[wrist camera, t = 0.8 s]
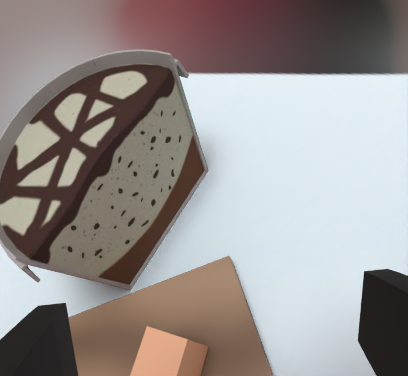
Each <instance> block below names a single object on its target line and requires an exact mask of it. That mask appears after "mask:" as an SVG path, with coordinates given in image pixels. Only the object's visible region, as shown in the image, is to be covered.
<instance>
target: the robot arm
mask: <svg viewBox="0 0 408 376" xmlns="http://www.w3.org/2000/svg"><path fill="white" fill-rule="evenodd" d="M358 342H359V344H360V346H361V348H362V350H363V351H364V353H365V355H366V357H367V359H368V361H369V363H370V365H371V366H372V368H373V370H374V372H375V374H376V375H377V376H408V276H407V275H404V274H401V273H398V272H396V271H392V270H389V269H383V270H373V271H364V279H363V290H362V301H361V312H360V323H359V334H358ZM0 376H78V371H77V365H76V359H75V353H74V348H73V342H72V336H71V330H70V325H69V319H68V313H67V307H66V303H61V304H51V305H42V306H38V307H36V308H35V309H34V310H33V311H31V312H30V313H29V314H28V315H27V316H26V317H25V318H24V319H22V320H21V321H20V322H19V323H18V324H17V325H16V326H15V327H14V328H13V329H12V330H10V331H9V332H8V333H7V334H6V335H5V336H4V337H3V338H2V339H1V340H0Z"/></svg>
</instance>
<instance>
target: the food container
mask: <svg viewBox="0 0 408 376" xmlns="http://www.w3.org/2000/svg"><path fill="white" fill-rule="evenodd" d="M179 76H182V77H186V78H188V76H189V75H188V73H187V72H186V70H185V69H184V68H183V66H182V65H181V64H180V62H179V61H178V60H177V59H173V57H172V55H171V54H169V53H165V52H160V51H154V50H142V49H139V50H124V51H118V52H112V53H108V54H104V55H101V56H97V57H94V58H91V59H89V60H87V61H84V62H82V63H79V64H77V65H75V66H73V67H71V68H69V69H68V70H66V71H64V72H62V73H60V74H59V75H58V76H56V77H55V78H53V79H52V80H50V81H49V82H47V83H46V84H45V85H44V86H42V87H41V88H40V89H39V90H38V91H37V92H35V94H33V95H32V96H31V97H30V98H29V99H28V100H27V101H26V102H25V103H24V105H23V106H22V107H21V108H20V109H19V110H18V111H17V113H16V114H15V115H14V117H13V118H12V119H11V121H10V122H9V124H8V125H7V127H6V128H5V130H4V132H3V133H2V135H1V137H0V244H1V246H2V247H3V249H4V250H5V252H6V253H7V255H8V256H9V258H10V259H11V260H12V261H13V262H14V263H15V264H17V265H18V266H19V267H20V268H21V269H22V270H23V271H24V272H25V273H27V274H28V275H29V276H30V277H32V278H33V279H34V280H35V281H37V282H39V281H40V279H39V278H38V277H37V276H36V275H35V274H34V273H33V272H32V271H31V270H30V269H29V268H28V265H31V266H35V267H39V268H43V269H47V270H51V271H55V272H59V273H64V274H68V275H72V276H76V277H80V278H84V279H88V280H92V281H96V282H100V283H105V284H109V285H113V286H117V287H121V288H125V289H129V290H131V289H132V287H133V286H134V284H135V282H136V281H137V279H138V278H139V276H140V275H141V273H142V272H143V270H144V269H145V267H146V266H147V264H148V263H149V261H150V259H151V258H152V256H153V255H154V253H155V252H156V250H157V249H158V247H159V246H160V244H161V243H162V241H163V239H164V238H165V236H166V235H167V233H168V232H169V230H170V229H171V227H172V226H173V224H174V223H175V221H176V220H177V218H178V216H179V215H180V213H181V212H182V210H183V209H184V207H185V206H186V204H187V203H188V201H189V200H190V198H191V196H192V195H193V193H194V192H195V190H196V189H197V187H198V186H199V184H200V183H201V181H202V180H203V178H204V177H205V175H206V173H207V172H208V168H207V165H206V162H205V158H204V155H203V152H202V149H201V145H200V142H199V139H198V136H197V132H196V129H195V126H194V123H193V119H192V116H191V113H190V110H189V106H188V103H187V100H186V97H185V93H184V90H183V87H182V84H181V80H180V77H179Z"/></svg>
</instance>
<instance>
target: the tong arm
mask: <svg viewBox="0 0 408 376" xmlns="http://www.w3.org/2000/svg"><path fill="white" fill-rule="evenodd" d="M208 347H209V346H206V345H203V344H200V343H197V342H194V341H191V340H188V339H185V338H182V337H179V336H176V335H173V334H170V333H167V332H164V331H161V330H157V329H154V328H151V327H148V326H147V327H146V330H145V333H144V336H143V339H142V342H141V345H140V348H139V351H138V354H137V357H136V360H135V363H134V366H133V369H132V371H131V374H130V376H200V375H201V372H202V368H203V365H204V361H205V357H206V354H207V350H208Z"/></svg>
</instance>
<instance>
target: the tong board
mask: <svg viewBox="0 0 408 376" xmlns="http://www.w3.org/2000/svg"><path fill="white" fill-rule="evenodd" d="M68 319H69V325H70V330H71V336H72V342H73V348H74V353H75V359H76V365H77V371H78V376H130V374H131V371H132V369H133V366H134V363H135V360H136V357H137V354H138V351H139V348H140V345H141V342H142V339H143V336H144V333H145V330H146V327H147V326H148V327H151V328H154V329H157V330H161V331H164V332H167V333H170V334H173V335H176V336H179V337H182V338H185V339H188V340H191V341H194V342H197V343H200V344H203V345H206V346H209V347H208V350H207V354H206V357H205V361H204V365H203V368H202V372H201V375H200V376H273V373H272V370H271V367H270V364H269V362H268V359H267V356H266V353H265V351H264V348H263V345H262V342H261V339H260V337H259V334H258V331H257V328H256V325H255V323H254V320H253V317H252V314H251V312H250V309H249V306H248V303H247V300H246V298H245V295H244V292H243V289H242V287H241V284H240V281H239V278H238V275H237V273H236V270H235V267H234V264H233V262H232V260H231V258H230V257H229V256H227V257H225V258H222V259H219V260H217V261H214V262H212V263H209V264H206V265H204V266H201V267H199V268H196V269H193V270H191V271H188V272H186V273H183V274H180V275H178V276H175V277H173V278H170V279H167V280H165V281H162V282H160V283H157V284H154V285H152V286H149V287H147V288H144V289H141V290H139V291H136V292H134V293H131V294H128V295H126V296H123V297H121V298H118V299H115V300H113V301H110V302H108V303H105V304H102V305H100V306H97V307H95V308H92V309H89V310H87V311H84V312H82V313H79V314H76V315H74V316H71V317H69V318H68Z"/></svg>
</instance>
